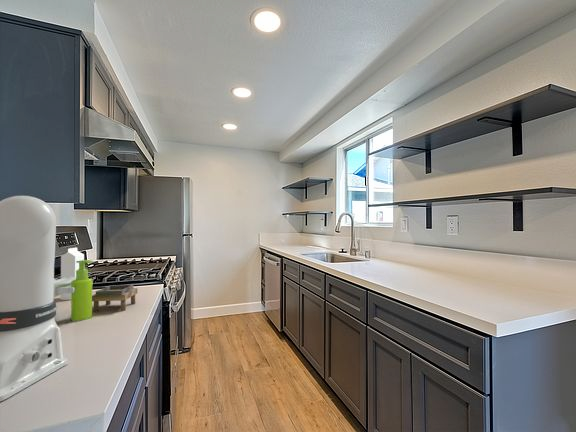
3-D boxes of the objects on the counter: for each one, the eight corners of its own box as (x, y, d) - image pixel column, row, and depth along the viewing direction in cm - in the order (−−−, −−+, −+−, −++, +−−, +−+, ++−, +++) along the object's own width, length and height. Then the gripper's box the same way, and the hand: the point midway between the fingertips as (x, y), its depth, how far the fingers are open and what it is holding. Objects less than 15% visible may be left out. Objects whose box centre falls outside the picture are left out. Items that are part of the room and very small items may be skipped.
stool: (124, 311, 108) (125, 290, 108) (90, 312, 107) (90, 291, 107) (137, 302, 119) (137, 284, 119) (106, 303, 118) (106, 285, 118)
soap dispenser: (83, 321, 97) (84, 261, 98) (66, 320, 99) (67, 261, 99) (98, 315, 103) (98, 259, 103) (82, 314, 104) (82, 259, 105)
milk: (83, 296, 131) (84, 247, 131) (74, 299, 125) (75, 248, 125) (69, 296, 130) (70, 247, 131) (60, 300, 124) (60, 248, 125)
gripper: (61, 289, 110) (99, 288, 111) (16, 305, 90) (63, 303, 91) (61, 273, 110) (100, 272, 111) (16, 284, 90) (63, 283, 91)
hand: (83, 286), depth 101 cm, fingers open, 8 cm apart
